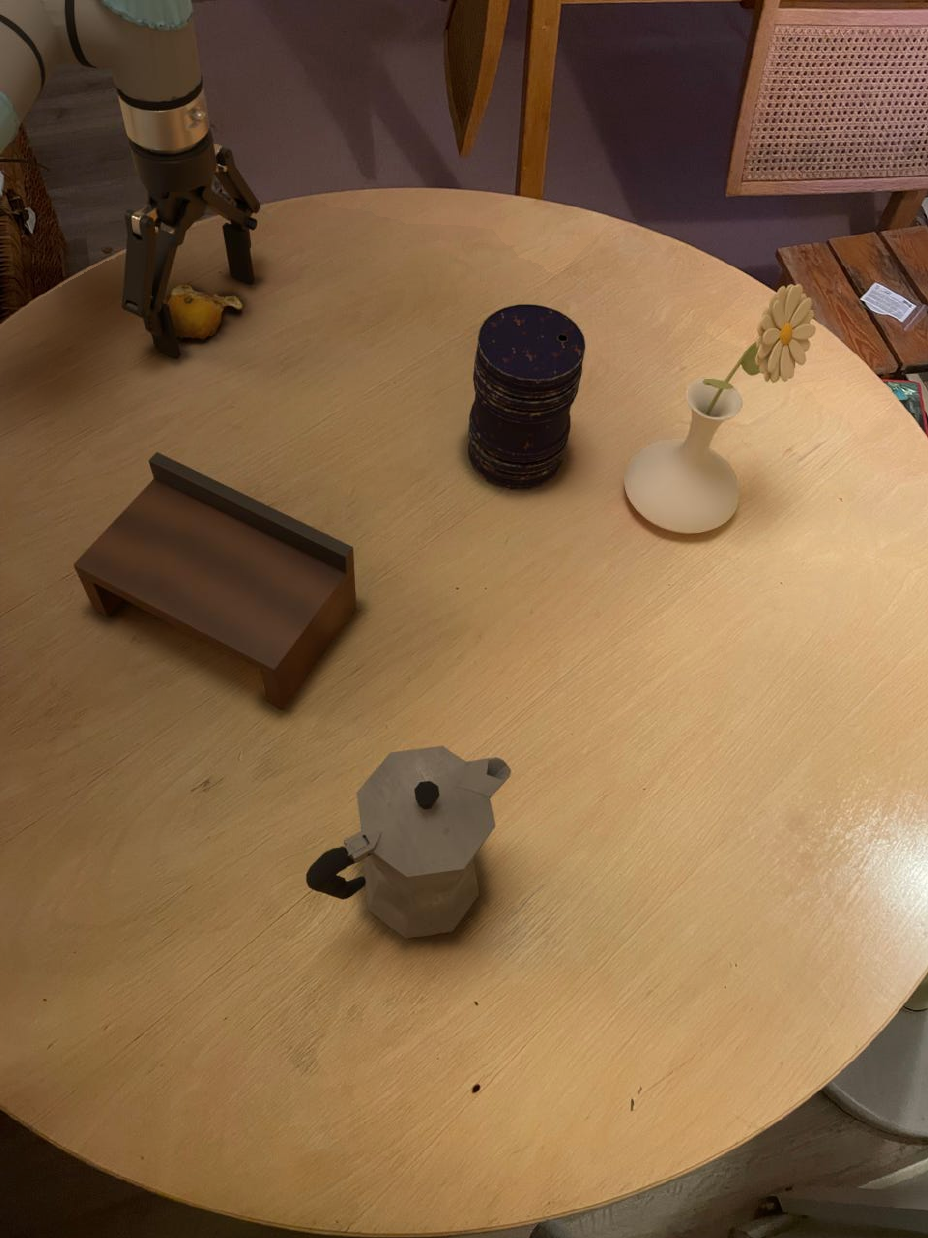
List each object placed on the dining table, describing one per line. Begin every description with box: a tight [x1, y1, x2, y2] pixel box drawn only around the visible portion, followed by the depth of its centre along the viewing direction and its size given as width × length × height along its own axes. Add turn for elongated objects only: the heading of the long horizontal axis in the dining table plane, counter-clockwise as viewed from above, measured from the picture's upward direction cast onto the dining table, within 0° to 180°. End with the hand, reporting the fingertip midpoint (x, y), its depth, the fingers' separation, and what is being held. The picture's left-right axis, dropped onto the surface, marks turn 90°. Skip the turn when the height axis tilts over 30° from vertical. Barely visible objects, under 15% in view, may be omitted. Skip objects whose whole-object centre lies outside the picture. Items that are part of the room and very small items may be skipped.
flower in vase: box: [623, 283, 817, 534], centre depth 93 cm, size 13×11×25 cm
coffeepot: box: [305, 745, 512, 939], centre depth 73 cm, size 15×9×18 cm, turn 122°
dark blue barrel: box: [467, 303, 586, 491], centre depth 99 cm, size 10×10×15 cm
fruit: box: [166, 284, 243, 340], centre depth 111 cm, size 8×8×4 cm
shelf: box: [73, 451, 357, 711], centre depth 89 cm, size 12×20×9 cm, turn 62°
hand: (206, 313), depth 113 cm, fingers open, 13 cm apart
